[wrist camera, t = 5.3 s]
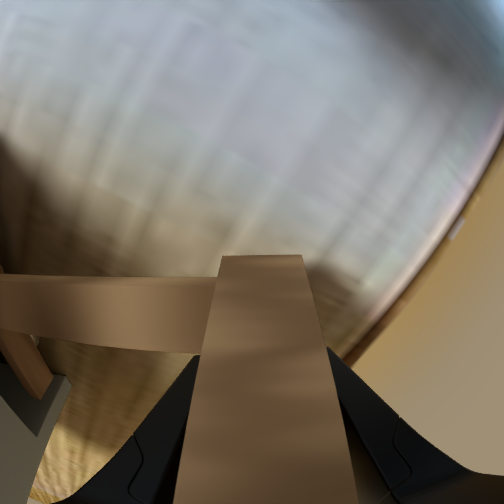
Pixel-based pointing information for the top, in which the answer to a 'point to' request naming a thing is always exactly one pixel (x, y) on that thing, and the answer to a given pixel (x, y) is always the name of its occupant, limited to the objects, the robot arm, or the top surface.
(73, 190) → the top surface
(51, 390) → the cabinet
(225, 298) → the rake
